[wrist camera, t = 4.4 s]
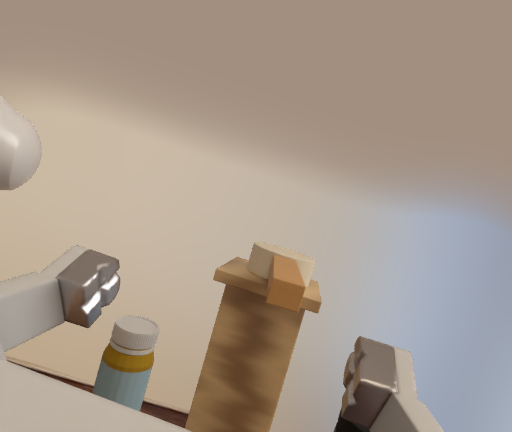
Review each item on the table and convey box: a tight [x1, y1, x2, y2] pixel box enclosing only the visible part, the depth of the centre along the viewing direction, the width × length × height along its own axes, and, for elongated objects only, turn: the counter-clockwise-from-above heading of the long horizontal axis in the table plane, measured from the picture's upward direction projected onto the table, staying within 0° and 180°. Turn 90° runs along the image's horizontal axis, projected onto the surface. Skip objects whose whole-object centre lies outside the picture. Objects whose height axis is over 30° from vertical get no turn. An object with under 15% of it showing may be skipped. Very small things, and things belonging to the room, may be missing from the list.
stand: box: [185, 257, 321, 432], centre depth 34 cm, size 9×9×30 cm
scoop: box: [247, 242, 316, 312], centre depth 29 cm, size 6×16×2 cm, turn 177°
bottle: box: [92, 316, 159, 412], centre depth 51 cm, size 7×7×15 cm
